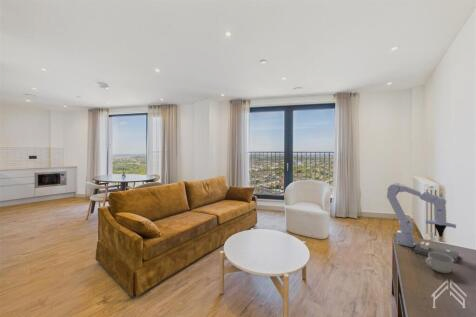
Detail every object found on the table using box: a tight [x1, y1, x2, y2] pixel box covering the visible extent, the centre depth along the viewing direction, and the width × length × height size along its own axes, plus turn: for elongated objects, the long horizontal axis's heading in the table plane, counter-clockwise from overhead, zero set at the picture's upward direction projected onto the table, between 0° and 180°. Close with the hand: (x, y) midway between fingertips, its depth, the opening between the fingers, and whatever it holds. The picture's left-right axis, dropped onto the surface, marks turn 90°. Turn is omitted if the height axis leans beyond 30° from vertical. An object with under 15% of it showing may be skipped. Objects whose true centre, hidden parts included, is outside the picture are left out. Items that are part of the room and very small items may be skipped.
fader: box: [419, 241, 431, 250], centre depth 146 cm, size 4×5×3 cm
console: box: [413, 243, 459, 263], centre depth 142 cm, size 20×12×2 cm, turn 41°
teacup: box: [425, 252, 455, 274], centre depth 123 cm, size 14×11×8 cm
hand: (440, 236), depth 144 cm, fingers closed
